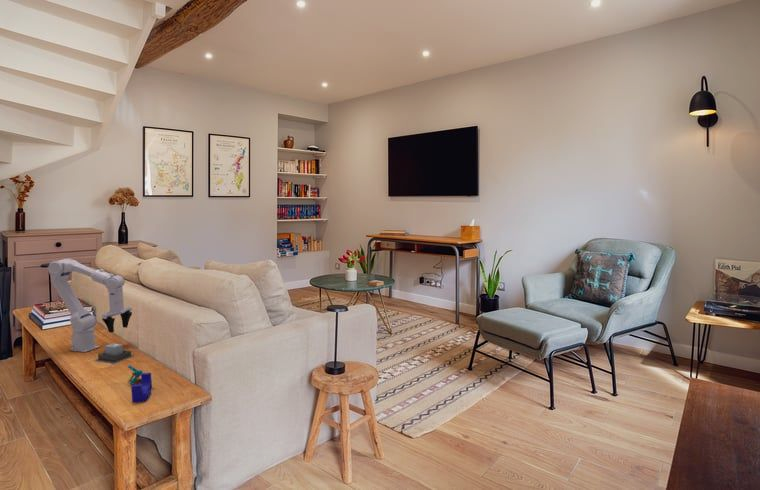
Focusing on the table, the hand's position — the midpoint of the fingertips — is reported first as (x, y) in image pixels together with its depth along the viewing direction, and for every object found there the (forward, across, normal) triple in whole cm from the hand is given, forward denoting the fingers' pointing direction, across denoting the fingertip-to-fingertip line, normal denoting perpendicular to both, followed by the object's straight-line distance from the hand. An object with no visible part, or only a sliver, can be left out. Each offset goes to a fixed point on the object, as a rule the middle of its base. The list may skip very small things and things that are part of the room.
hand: (118, 329), depth 210 cm
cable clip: (+10, -34, -50) cm, 61 cm away
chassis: (+9, -10, -8) cm, 16 cm away
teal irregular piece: (+10, -26, -40) cm, 48 cm away
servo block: (+9, -10, -8) cm, 16 cm away
